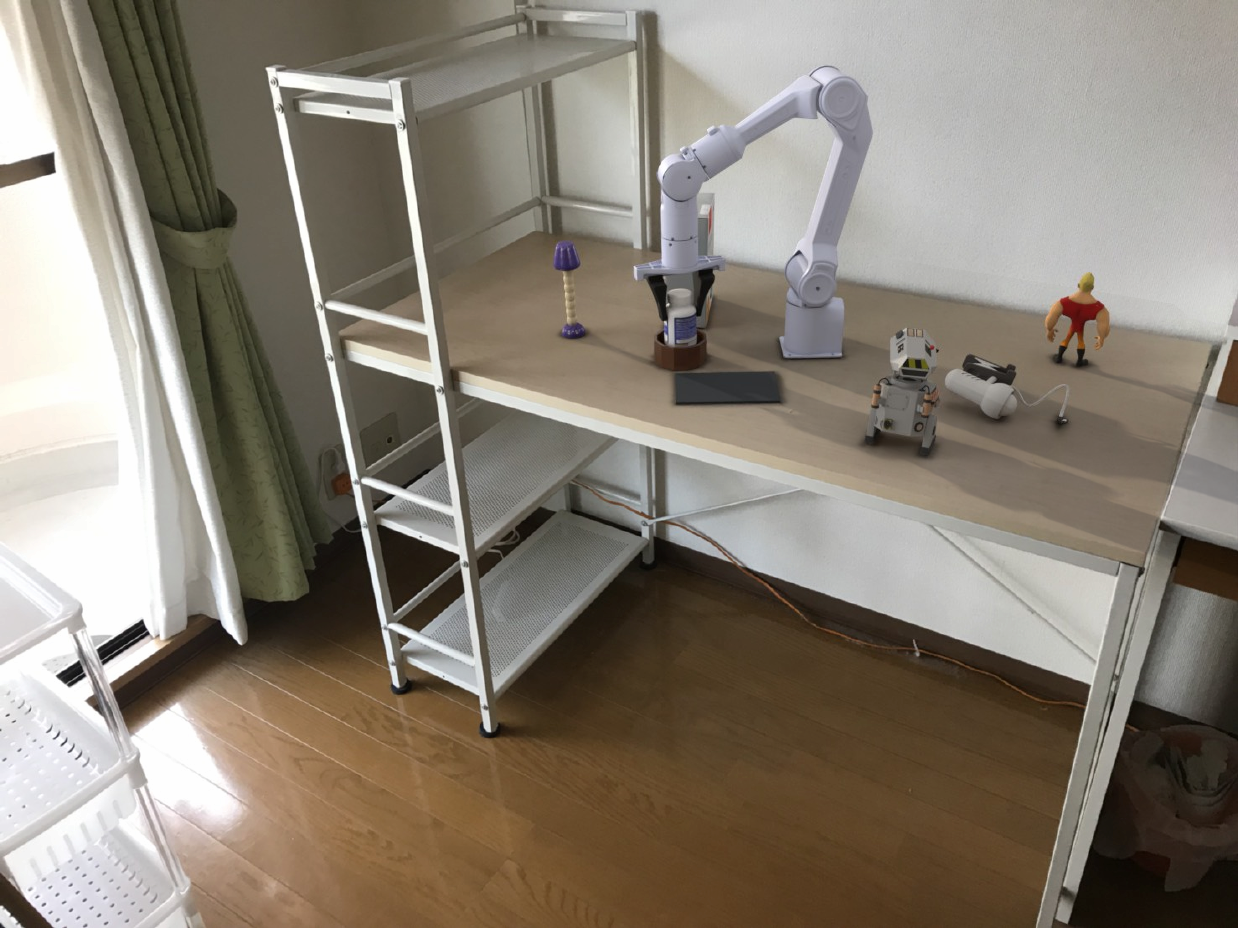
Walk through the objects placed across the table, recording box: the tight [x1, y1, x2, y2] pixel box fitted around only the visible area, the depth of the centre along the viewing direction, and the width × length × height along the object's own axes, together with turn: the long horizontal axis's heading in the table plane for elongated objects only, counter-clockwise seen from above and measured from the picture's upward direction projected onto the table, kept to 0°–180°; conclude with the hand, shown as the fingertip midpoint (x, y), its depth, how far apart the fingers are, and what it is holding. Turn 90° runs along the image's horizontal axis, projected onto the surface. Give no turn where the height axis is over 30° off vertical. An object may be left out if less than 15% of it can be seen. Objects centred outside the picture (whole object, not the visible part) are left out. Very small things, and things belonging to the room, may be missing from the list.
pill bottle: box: [663, 289, 697, 347], centre depth 161 cm, size 5×5×9 cm
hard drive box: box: [663, 192, 716, 329], centre depth 177 cm, size 16×8×20 cm, turn 171°
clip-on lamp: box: [944, 353, 1071, 425], centre depth 145 cm, size 12×6×18 cm
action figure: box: [1044, 272, 1111, 368], centre depth 155 cm, size 10×4×15 cm, turn 59°
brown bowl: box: [653, 327, 708, 371], centre depth 164 cm, size 9×9×4 cm
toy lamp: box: [552, 240, 586, 339], centre depth 171 cm, size 5×5×17 cm
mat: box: [674, 370, 782, 405], centre depth 155 cm, size 16×10×1 cm, turn 88°
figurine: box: [863, 327, 942, 456], centre depth 137 cm, size 9×12×15 cm
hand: (680, 316), depth 161 cm, fingers closed on pill bottle, 5 cm apart
